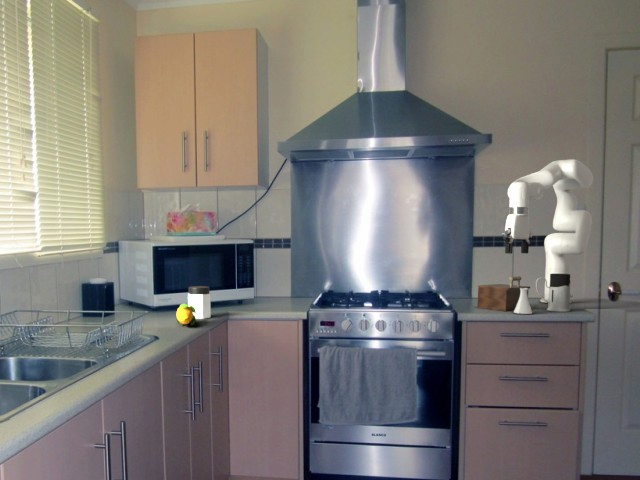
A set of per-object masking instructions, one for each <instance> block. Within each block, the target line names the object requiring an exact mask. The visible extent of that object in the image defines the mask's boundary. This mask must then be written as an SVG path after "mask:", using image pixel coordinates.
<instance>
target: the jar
mask: <svg viewBox="0 0 640 480" xmlns="http://www.w3.org/2000/svg"><path fill="white" fill-rule="evenodd" d="M187 304H188V306H189V307H190V306H191V305H192V306H193V307H194V308H195V310H196V314H195V313H194V312H193V315H195V318H196V319H195V320H199V319H200V320H204V319H211V317H212V316H211V315H212V314H211V313H212V311H211V293H210V286H206V285H194V286H188V293H187Z"/></svg>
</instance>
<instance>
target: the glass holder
mask: <svg viewBox="0 0 640 480" xmlns="http://www.w3.org/2000/svg"><path fill="white" fill-rule="evenodd" d="M540 279H543V280H544V283H545V282H546V287H547V281H546V279H545V277H542V276H540V277H538V278H536V281H535V289H536V293H537V294H538V296H539V297H540V298H541V299H544V296H542V295H541V293H540V291H539V289H538V282H539V280H540ZM547 288H549V302H548V301H547V300H545V299H544V300H545V301H546V302H547V303H546V304H547V306H548V307H547V308H546V311H550V312H565V313H566V312H570V311H571V308H570V304H571V303H570V300H571V298H570V293H571V274H570V273H568V274H550V286H549V287H547Z"/></svg>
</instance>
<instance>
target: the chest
mask: <svg viewBox="0 0 640 480" xmlns="http://www.w3.org/2000/svg"><path fill="white" fill-rule="evenodd" d="M520 292H521V290H520V289H516V290H502V289H491V288H481V287H478V286H477V308H478V309H485V310H492V311H493V310H494V311H500V312H501V311H502V312H511V311H512V312H514V310H515V308H516V306H517V303H518V300H519V298H520ZM527 295H528V296H529V289H528V290H527Z"/></svg>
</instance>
